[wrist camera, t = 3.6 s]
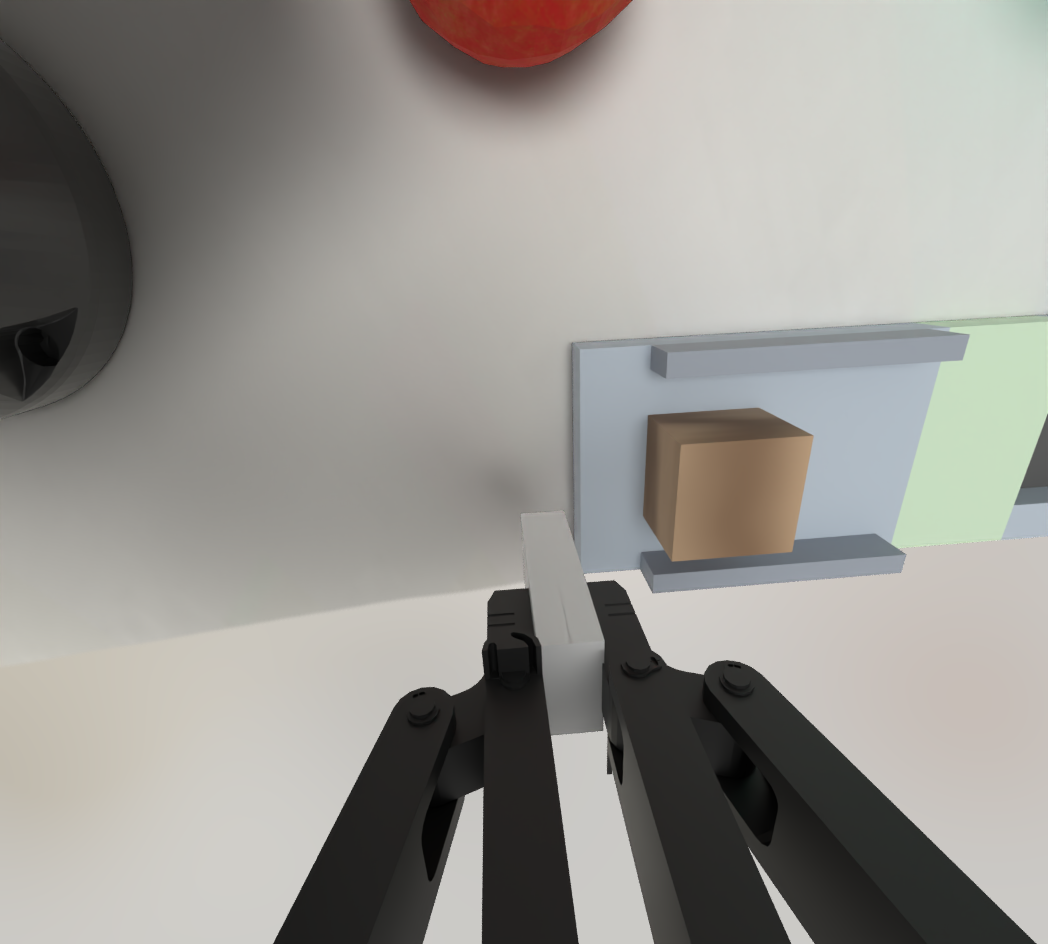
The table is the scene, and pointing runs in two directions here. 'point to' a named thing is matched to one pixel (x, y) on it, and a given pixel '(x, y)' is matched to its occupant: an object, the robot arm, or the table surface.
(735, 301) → the table surface
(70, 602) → the table surface
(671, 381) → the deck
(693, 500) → the block
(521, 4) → the apple
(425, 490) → the table surface
